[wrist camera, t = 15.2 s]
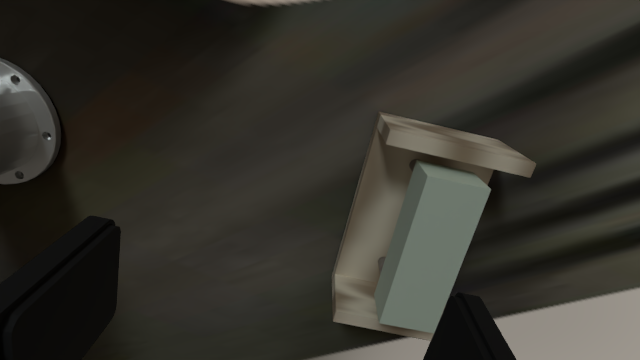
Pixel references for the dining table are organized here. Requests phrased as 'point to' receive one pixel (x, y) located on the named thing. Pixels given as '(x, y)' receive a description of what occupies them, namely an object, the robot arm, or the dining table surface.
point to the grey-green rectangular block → (428, 245)
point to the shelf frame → (400, 204)
